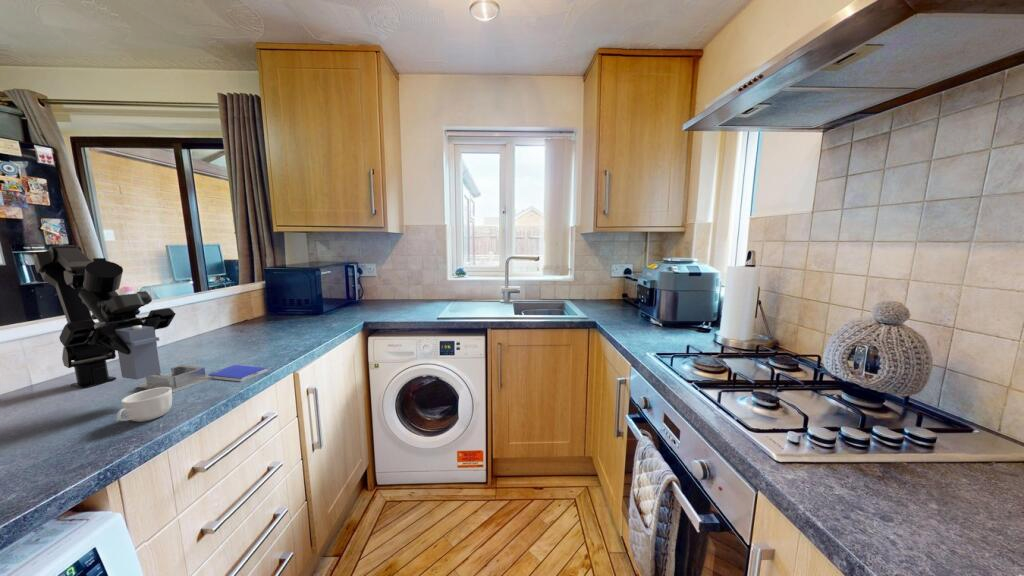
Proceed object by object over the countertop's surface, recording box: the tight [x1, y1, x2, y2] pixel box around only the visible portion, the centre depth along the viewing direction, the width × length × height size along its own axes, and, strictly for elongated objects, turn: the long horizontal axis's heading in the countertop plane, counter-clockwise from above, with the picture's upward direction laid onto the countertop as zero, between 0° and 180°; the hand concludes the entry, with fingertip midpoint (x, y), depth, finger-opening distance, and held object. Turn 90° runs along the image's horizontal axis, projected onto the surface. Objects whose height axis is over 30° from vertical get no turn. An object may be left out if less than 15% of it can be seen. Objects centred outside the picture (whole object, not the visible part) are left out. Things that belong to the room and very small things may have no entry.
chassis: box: [137, 364, 214, 394], centre depth 95 cm, size 14×10×3 cm
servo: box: [115, 325, 161, 380], centre depth 82 cm, size 8×4×13 cm, turn 75°
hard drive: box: [208, 364, 269, 382], centre depth 100 cm, size 2×8×12 cm
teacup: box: [116, 387, 173, 423], centre depth 74 cm, size 10×8×5 cm
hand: (142, 350), depth 82 cm, fingers closed on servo, 4 cm apart
